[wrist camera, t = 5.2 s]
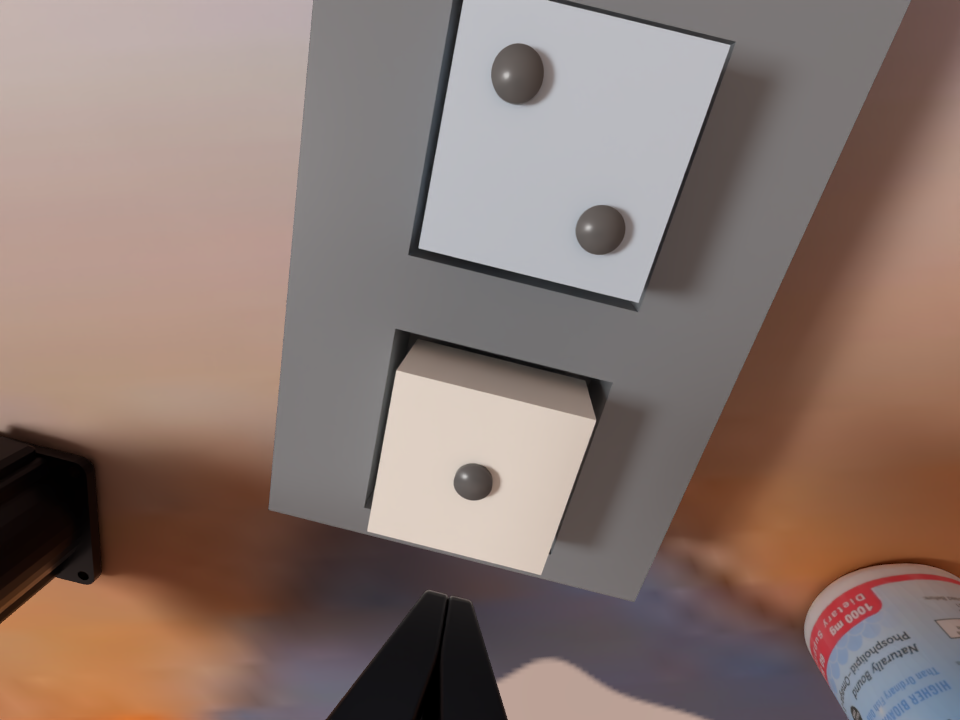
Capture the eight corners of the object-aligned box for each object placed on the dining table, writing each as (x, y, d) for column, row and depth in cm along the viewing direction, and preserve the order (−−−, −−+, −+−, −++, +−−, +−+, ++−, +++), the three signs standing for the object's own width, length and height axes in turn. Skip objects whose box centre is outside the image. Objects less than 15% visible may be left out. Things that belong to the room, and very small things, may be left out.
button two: (618, 280, 13) (640, 305, 11) (437, 235, 13) (416, 249, 11) (689, 72, 11) (734, 42, 9) (480, 20, 11) (465, -25, 9)
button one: (539, 517, 16) (541, 581, 14) (390, 480, 16) (364, 536, 14) (585, 380, 14) (597, 424, 12) (417, 338, 14) (394, 373, 12)
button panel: (616, 528, 19) (634, 602, 16) (313, 452, 19) (268, 509, 16) (985, -371, 10) (1198, -625, 7) (430, -503, 10) (384, -817, 7)
